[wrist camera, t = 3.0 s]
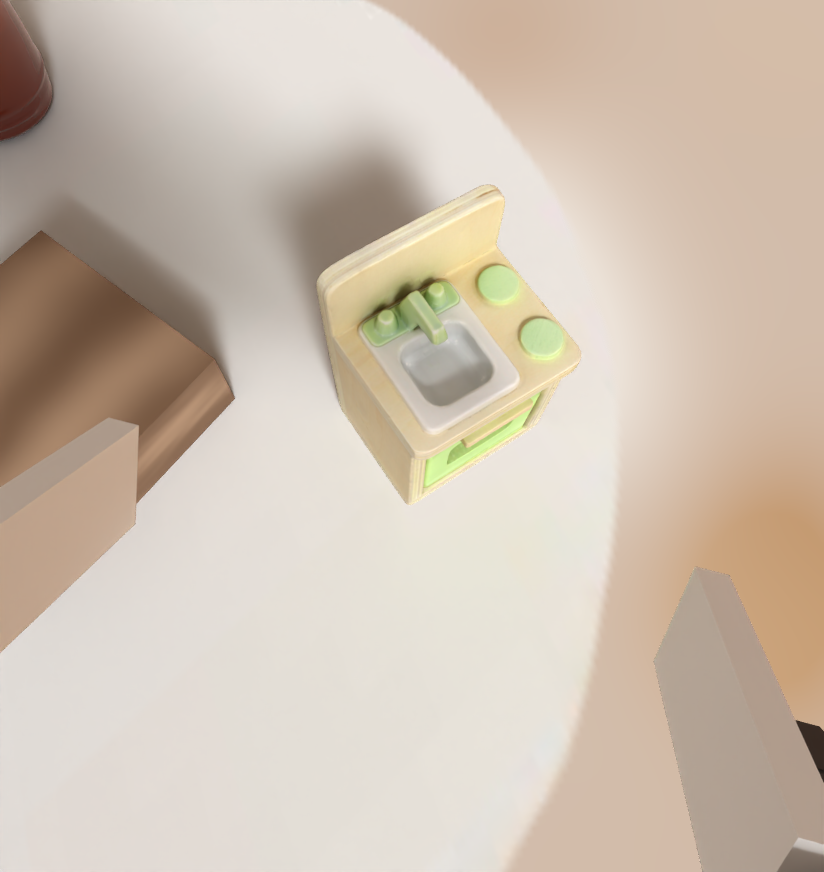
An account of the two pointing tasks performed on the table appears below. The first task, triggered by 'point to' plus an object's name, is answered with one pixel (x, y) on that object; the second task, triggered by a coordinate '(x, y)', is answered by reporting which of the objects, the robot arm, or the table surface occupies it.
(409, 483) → the toy sink
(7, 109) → the mug
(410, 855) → the table surface
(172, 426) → the walnut block
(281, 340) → the table surface
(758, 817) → the robot arm
